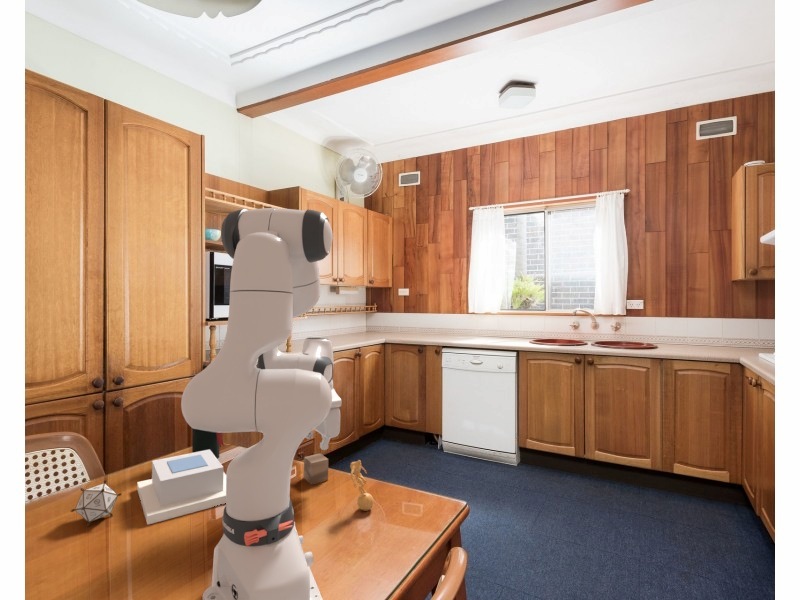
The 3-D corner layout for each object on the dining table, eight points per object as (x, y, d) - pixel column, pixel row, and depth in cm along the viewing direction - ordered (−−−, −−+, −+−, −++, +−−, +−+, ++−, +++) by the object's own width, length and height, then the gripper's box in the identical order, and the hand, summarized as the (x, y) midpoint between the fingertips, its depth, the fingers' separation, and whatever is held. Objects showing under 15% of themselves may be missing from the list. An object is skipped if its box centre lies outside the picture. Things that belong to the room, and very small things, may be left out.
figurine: (368, 519, 101) (369, 469, 101) (343, 516, 102) (344, 466, 102) (377, 502, 109) (378, 455, 109) (355, 499, 111) (356, 452, 110)
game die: (99, 530, 101) (116, 484, 107) (117, 528, 97) (134, 480, 102) (56, 525, 95) (77, 477, 101) (73, 522, 91) (94, 472, 96)
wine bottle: (212, 466, 128) (213, 365, 127) (185, 460, 132) (186, 362, 131) (231, 456, 136) (232, 360, 135) (205, 451, 139) (205, 358, 138)
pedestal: (238, 499, 109) (239, 467, 109) (147, 524, 97) (147, 488, 97) (218, 471, 125) (218, 443, 125) (137, 489, 113) (137, 458, 113)
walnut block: (327, 480, 121) (328, 459, 121) (311, 485, 118) (311, 463, 118) (319, 473, 125) (320, 453, 125) (303, 478, 122) (304, 457, 122)
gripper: (291, 387, 127) (290, 434, 128) (323, 405, 111) (322, 458, 112) (311, 385, 131) (310, 429, 132) (345, 401, 115) (344, 453, 115)
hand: (316, 443), depth 122 cm, fingers open, 8 cm apart
